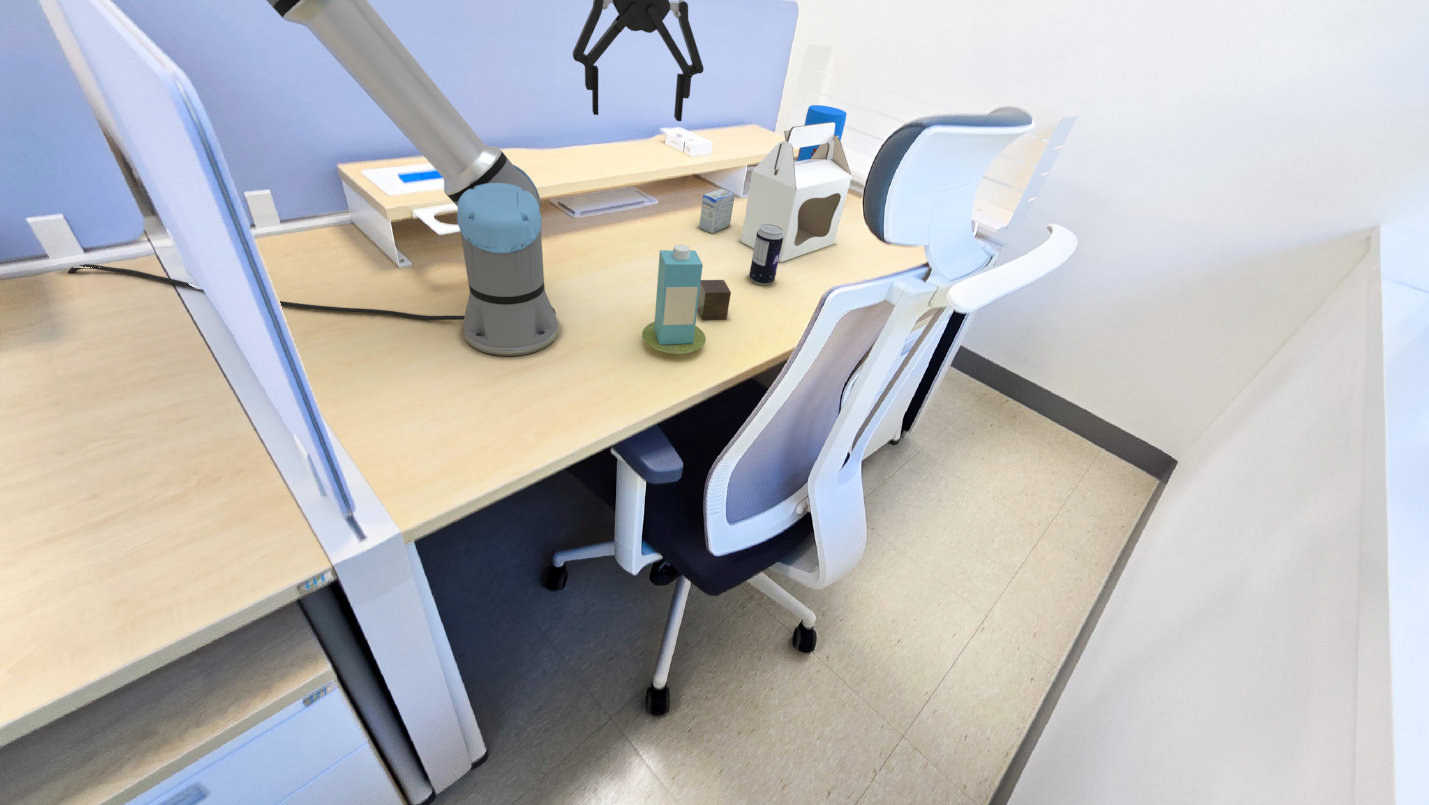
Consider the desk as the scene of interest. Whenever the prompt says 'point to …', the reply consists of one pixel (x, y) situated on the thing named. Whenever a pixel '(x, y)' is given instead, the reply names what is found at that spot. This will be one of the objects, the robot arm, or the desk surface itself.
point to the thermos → (822, 115)
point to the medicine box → (716, 210)
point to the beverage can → (766, 254)
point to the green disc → (652, 340)
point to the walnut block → (713, 300)
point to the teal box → (677, 295)
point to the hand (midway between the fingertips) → (637, 116)
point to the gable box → (799, 191)
